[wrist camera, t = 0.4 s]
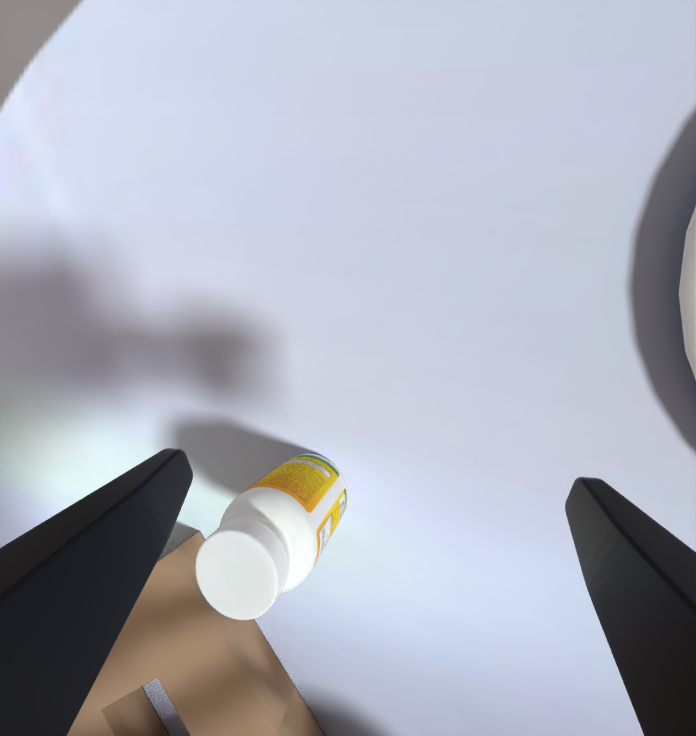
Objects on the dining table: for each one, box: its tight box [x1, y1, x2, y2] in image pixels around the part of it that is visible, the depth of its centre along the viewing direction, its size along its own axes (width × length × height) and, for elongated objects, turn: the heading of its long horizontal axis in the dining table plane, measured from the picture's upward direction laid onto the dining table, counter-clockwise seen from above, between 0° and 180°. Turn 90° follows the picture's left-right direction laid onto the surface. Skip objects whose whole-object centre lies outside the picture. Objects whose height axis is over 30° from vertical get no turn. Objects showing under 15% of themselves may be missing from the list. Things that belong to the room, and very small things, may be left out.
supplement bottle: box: [195, 454, 348, 620], centre depth 19 cm, size 5×5×10 cm
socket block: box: [67, 531, 325, 736], centre depth 26 cm, size 20×20×3 cm
